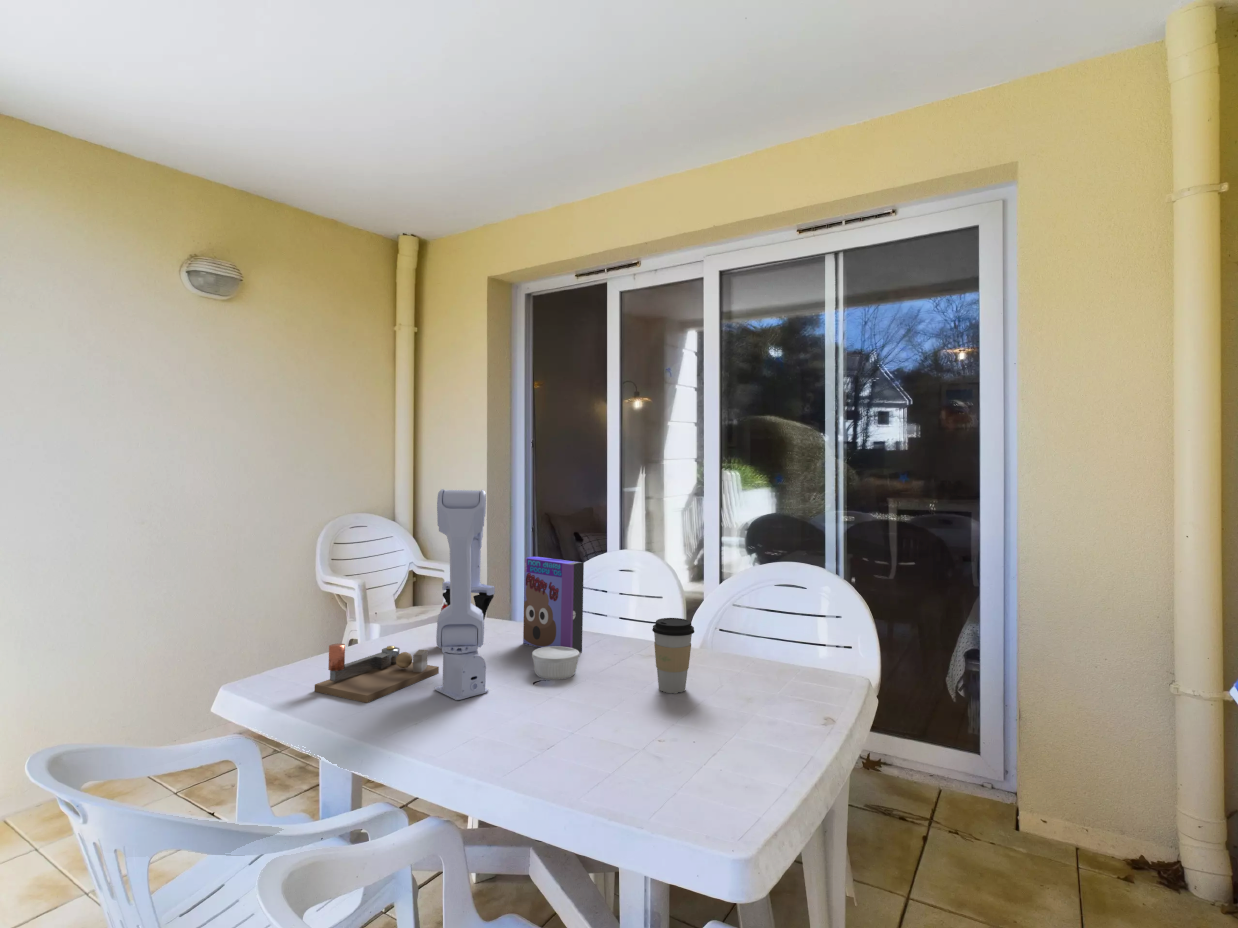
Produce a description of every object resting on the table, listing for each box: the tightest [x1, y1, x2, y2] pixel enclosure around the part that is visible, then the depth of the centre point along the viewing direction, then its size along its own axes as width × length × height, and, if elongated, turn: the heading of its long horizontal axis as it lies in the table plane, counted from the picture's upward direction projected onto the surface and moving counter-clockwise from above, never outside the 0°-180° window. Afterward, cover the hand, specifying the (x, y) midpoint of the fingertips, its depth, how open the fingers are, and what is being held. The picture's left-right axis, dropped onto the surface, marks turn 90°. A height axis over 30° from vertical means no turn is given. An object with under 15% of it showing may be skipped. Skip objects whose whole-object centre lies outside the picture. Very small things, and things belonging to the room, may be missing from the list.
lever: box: [328, 643, 401, 682], centre depth 147 cm, size 20×5×8 cm, turn 156°
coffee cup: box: [651, 617, 695, 694], centre depth 144 cm, size 9×9×15 cm
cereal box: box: [522, 556, 585, 654], centre depth 176 cm, size 17×5×24 cm, turn 53°
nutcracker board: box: [314, 649, 440, 704], centre depth 145 cm, size 22×15×6 cm
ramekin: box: [531, 646, 580, 681], centre depth 153 cm, size 11×11×5 cm
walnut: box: [396, 651, 413, 668], centre depth 150 cm, size 4×4×4 cm
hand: (467, 621), depth 160 cm, fingers open, 7 cm apart
